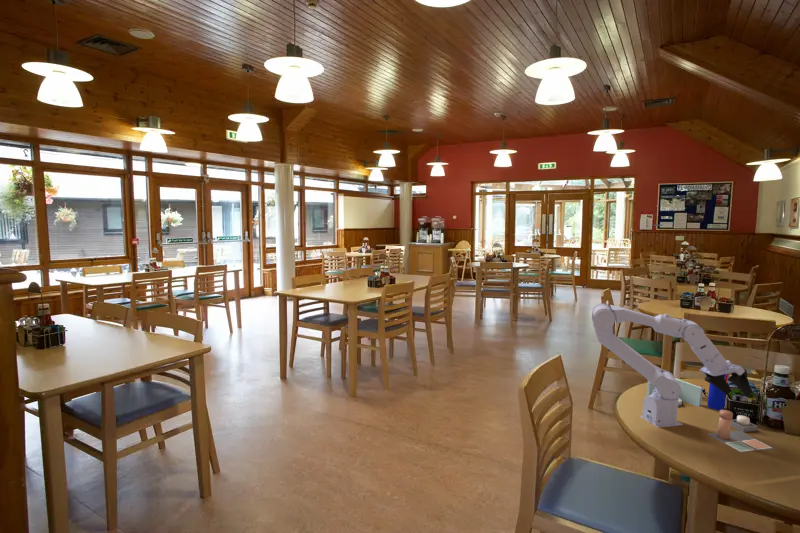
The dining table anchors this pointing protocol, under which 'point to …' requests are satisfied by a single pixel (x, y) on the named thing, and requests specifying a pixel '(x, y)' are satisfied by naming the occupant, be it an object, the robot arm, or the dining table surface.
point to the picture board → (742, 442)
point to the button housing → (743, 429)
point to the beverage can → (717, 396)
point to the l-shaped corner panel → (684, 393)
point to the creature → (704, 393)
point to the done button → (743, 420)
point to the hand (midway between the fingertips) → (738, 393)
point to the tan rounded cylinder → (724, 424)
